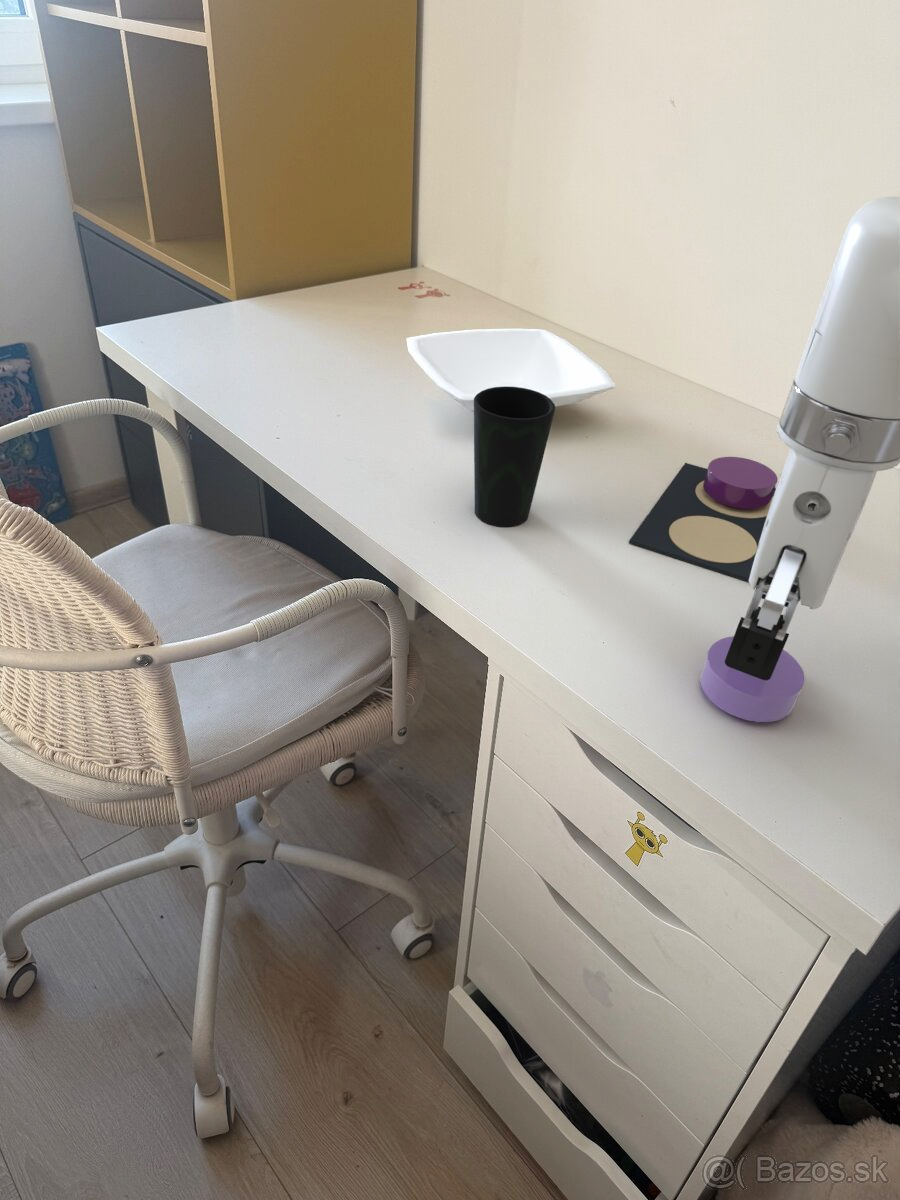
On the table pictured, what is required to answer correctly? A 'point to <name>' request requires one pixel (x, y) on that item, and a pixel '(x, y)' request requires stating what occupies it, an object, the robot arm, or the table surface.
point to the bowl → (508, 364)
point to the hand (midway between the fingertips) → (761, 634)
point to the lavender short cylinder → (751, 686)
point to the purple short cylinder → (740, 483)
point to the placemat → (702, 527)
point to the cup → (508, 452)
